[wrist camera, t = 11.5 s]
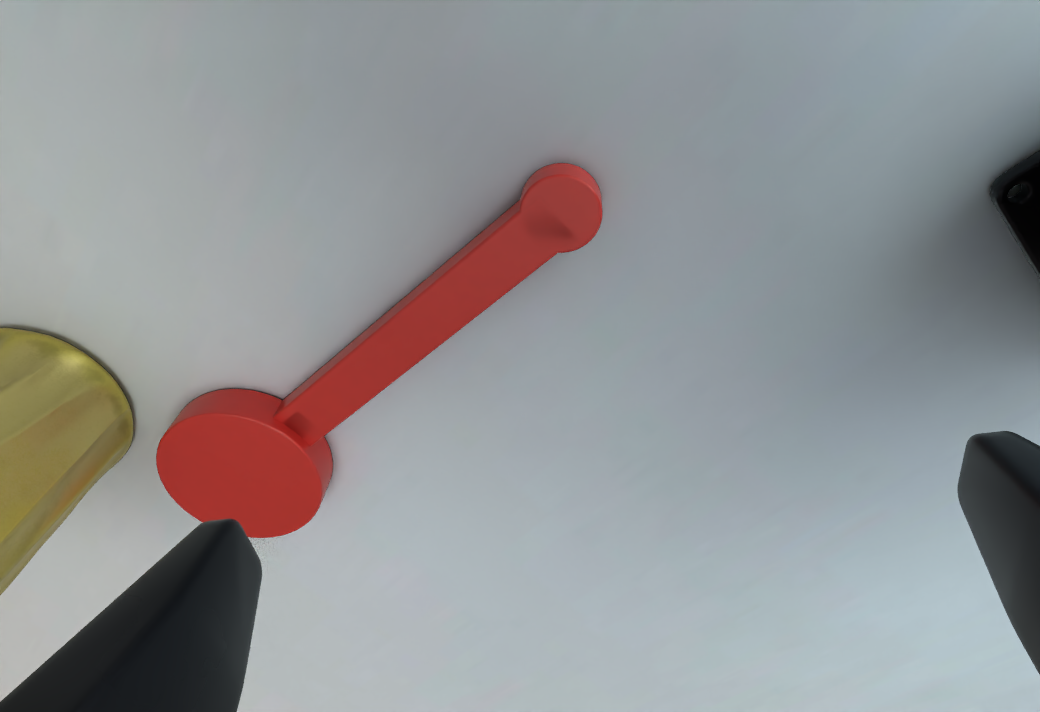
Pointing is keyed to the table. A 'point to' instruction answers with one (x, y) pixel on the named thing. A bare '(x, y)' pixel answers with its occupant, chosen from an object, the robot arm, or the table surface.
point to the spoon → (360, 370)
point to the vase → (51, 438)
